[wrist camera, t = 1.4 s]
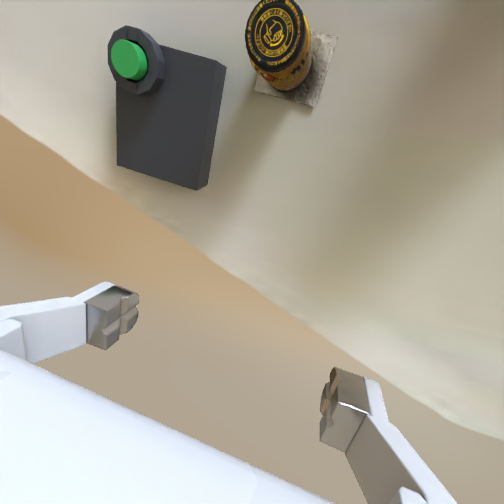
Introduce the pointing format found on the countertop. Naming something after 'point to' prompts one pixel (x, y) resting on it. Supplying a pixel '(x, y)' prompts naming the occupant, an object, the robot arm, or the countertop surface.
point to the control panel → (167, 112)
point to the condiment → (287, 52)
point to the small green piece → (129, 60)
